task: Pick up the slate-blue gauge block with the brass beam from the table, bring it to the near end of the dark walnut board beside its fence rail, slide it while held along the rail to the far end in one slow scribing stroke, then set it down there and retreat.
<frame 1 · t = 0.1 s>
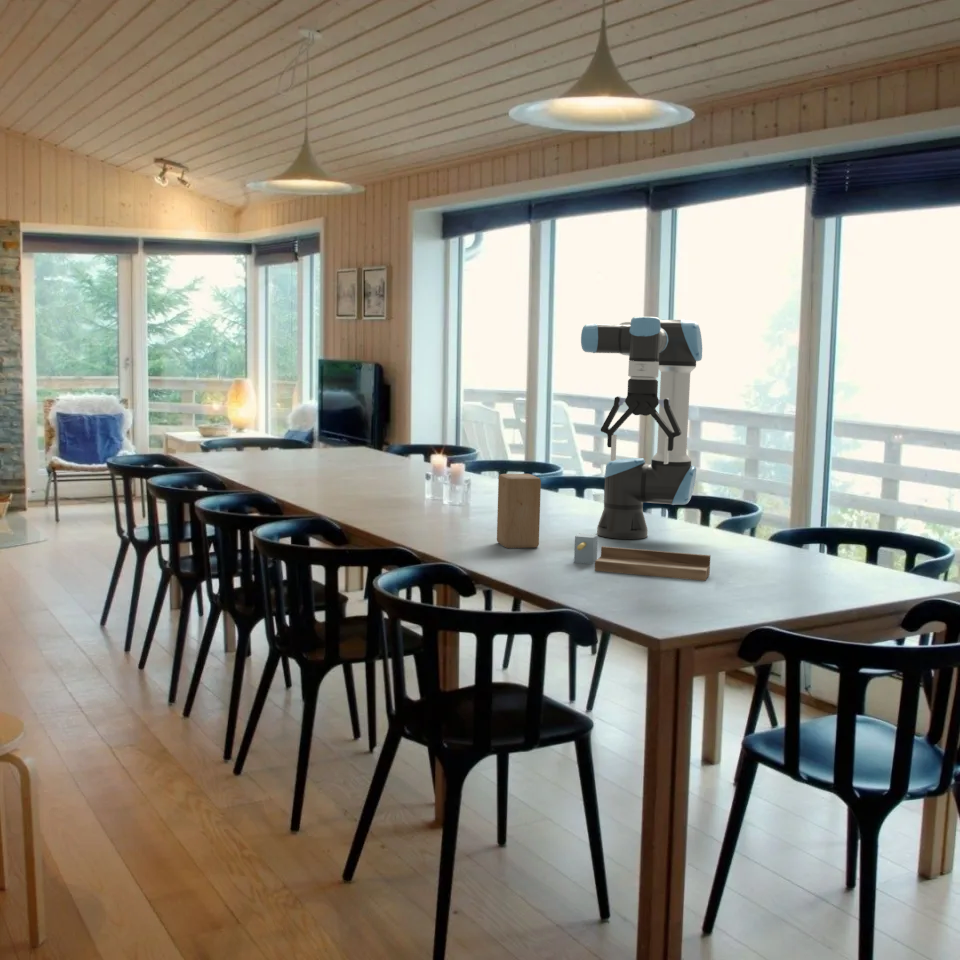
hand: (639, 462, 291), 28 cm above the table, fingers open, 13 cm apart
wooden block: (517, 546, 324), on the table
gauge: (585, 561, 304), on the table
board: (652, 572, 291), on the table
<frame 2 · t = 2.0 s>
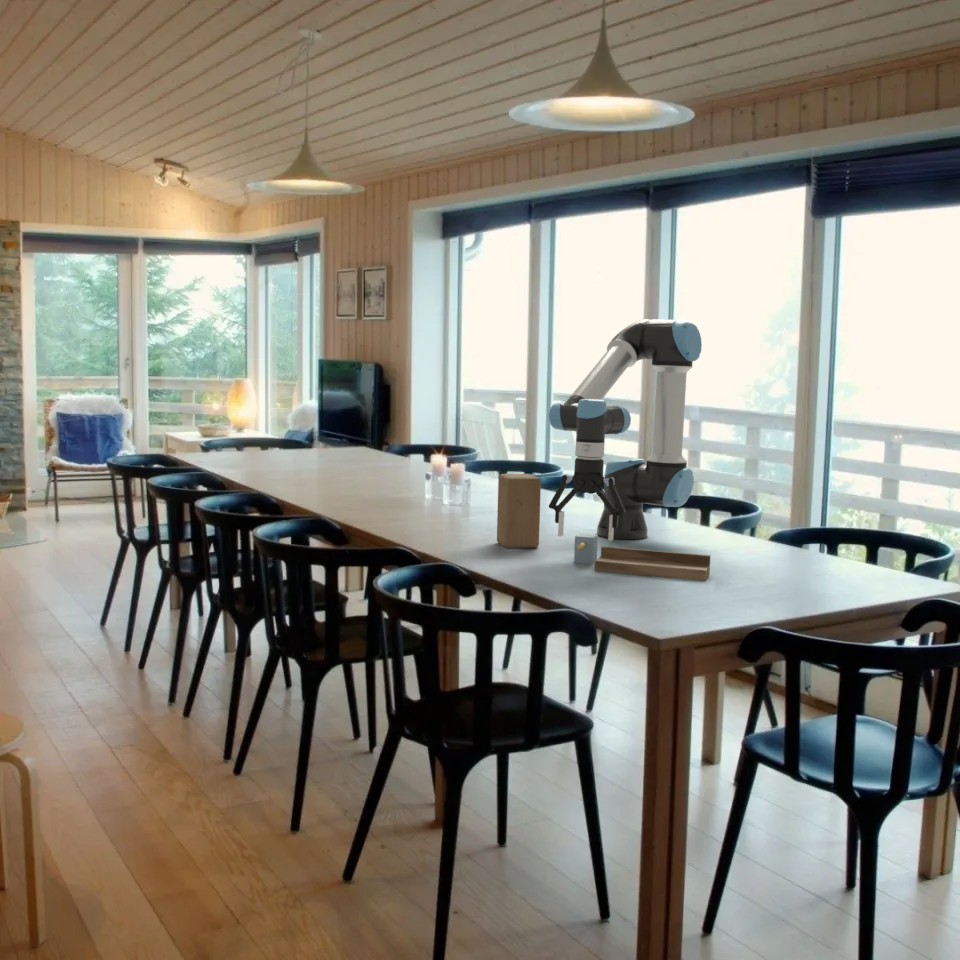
hand: (585, 537, 302), 6 cm above the table, fingers open, 13 cm apart
nothing on the table moved.
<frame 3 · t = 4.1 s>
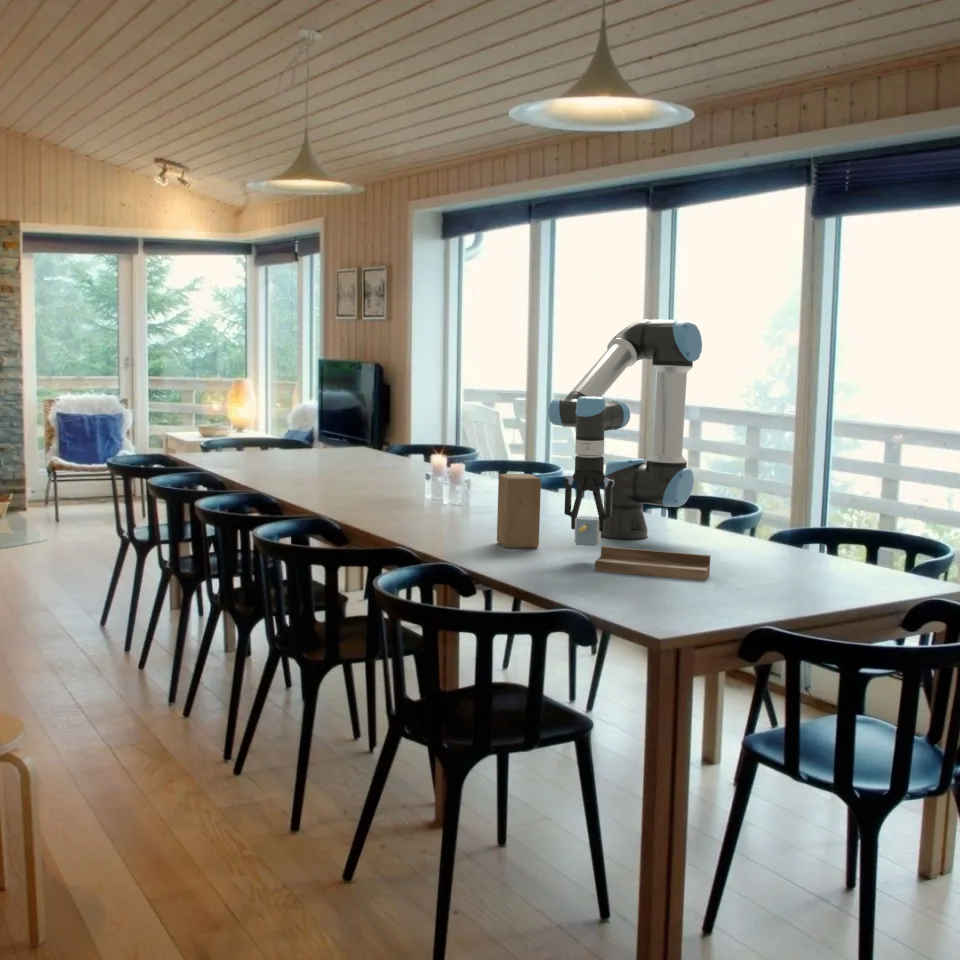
hand: (587, 542, 304), 5 cm above the table, fingers closed on gauge, 5 cm apart
gauge: (587, 543, 303), point 5 cm above the table, touching gripper
everything else where it was.
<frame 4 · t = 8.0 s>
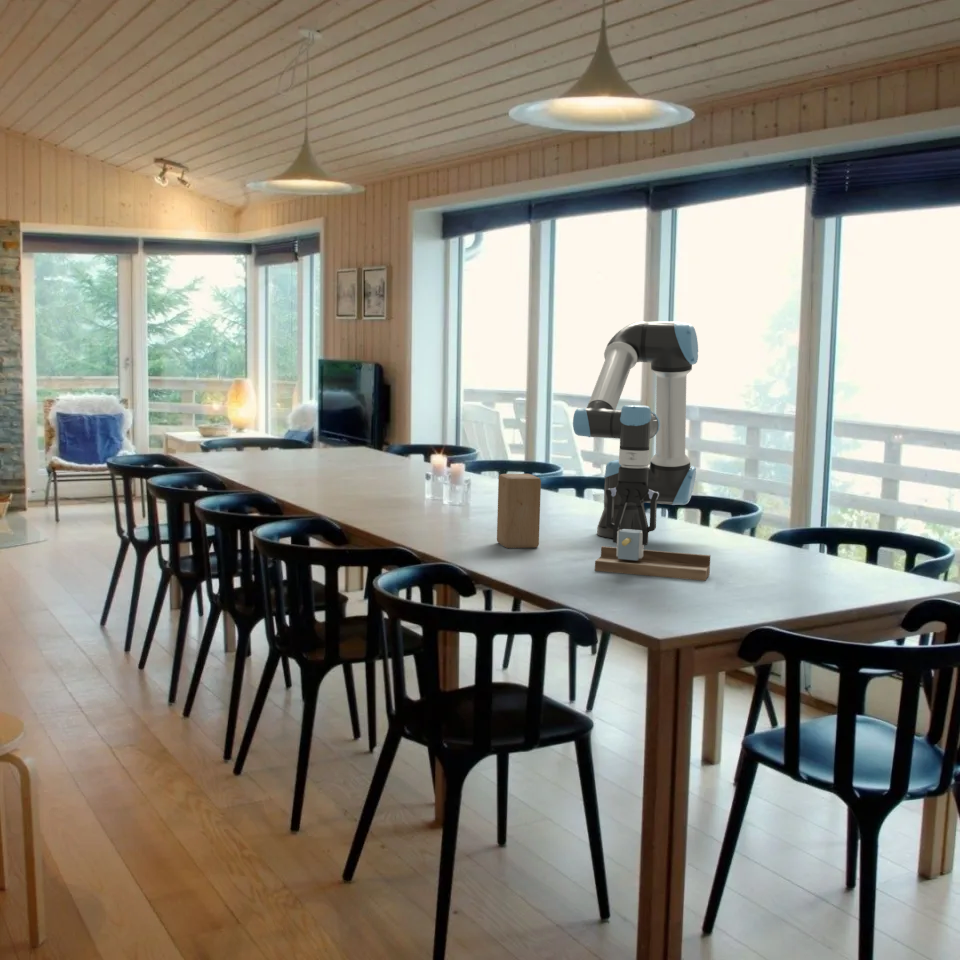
hand: (629, 556, 292), 4 cm above the table, fingers closed on gauge, 5 cm apart
gauge: (629, 557, 292), point 3 cm above the table, touching gripper
everything else where it was.
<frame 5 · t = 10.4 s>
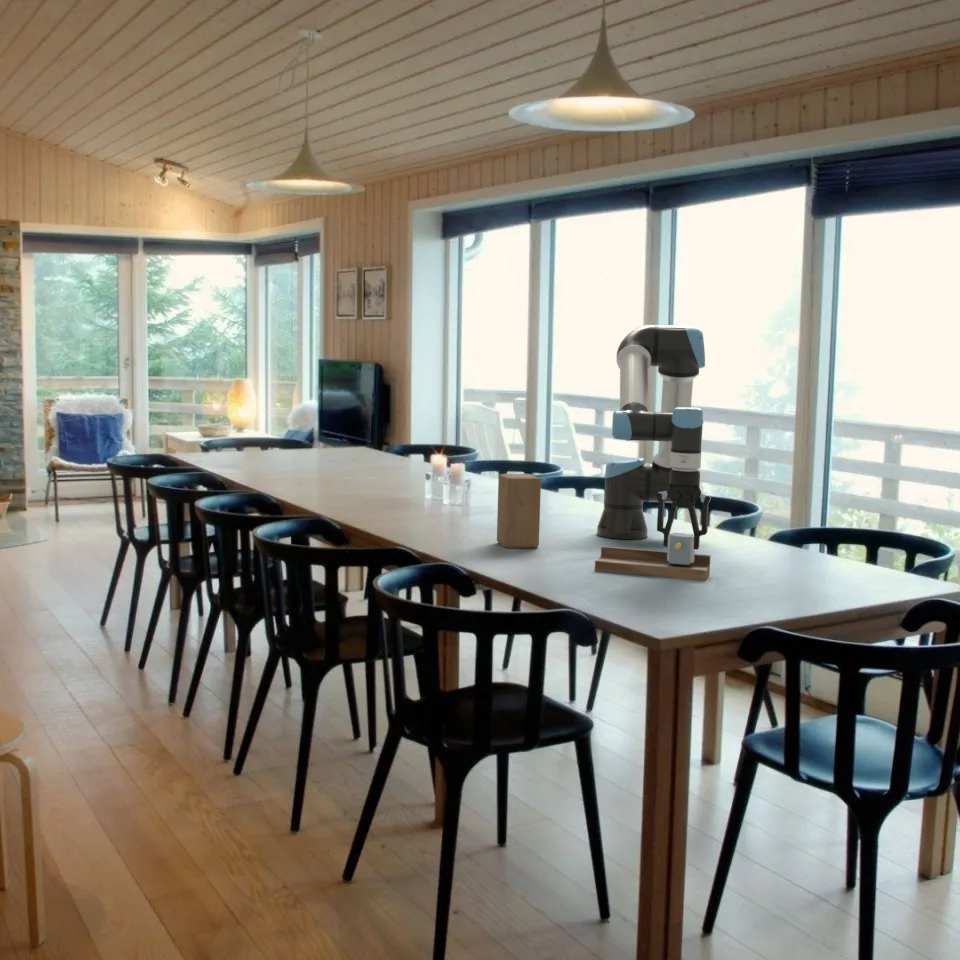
hand: (680, 560, 288), 4 cm above the table, fingers closed on gauge, 5 cm apart
gauge: (680, 562, 288), point 3 cm above the table, touching gripper
everything else where it was.
when the fingers open (4 cm above the table, at t = 12.1 s): gauge stays where it is, resting on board.
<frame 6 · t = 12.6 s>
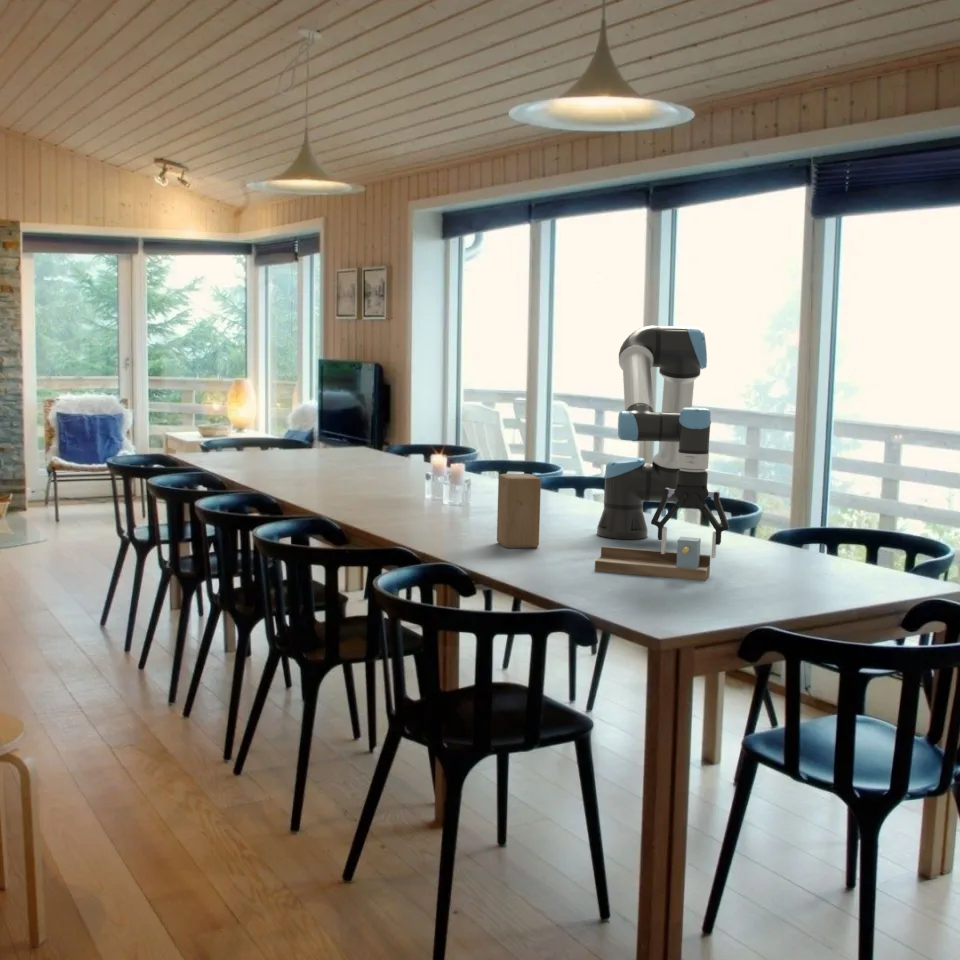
hand: (688, 555, 288), 5 cm above the table, fingers open, 12 cm apart
gauge: (687, 566, 288), point 2 cm above the table, touching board
everything else where it was.
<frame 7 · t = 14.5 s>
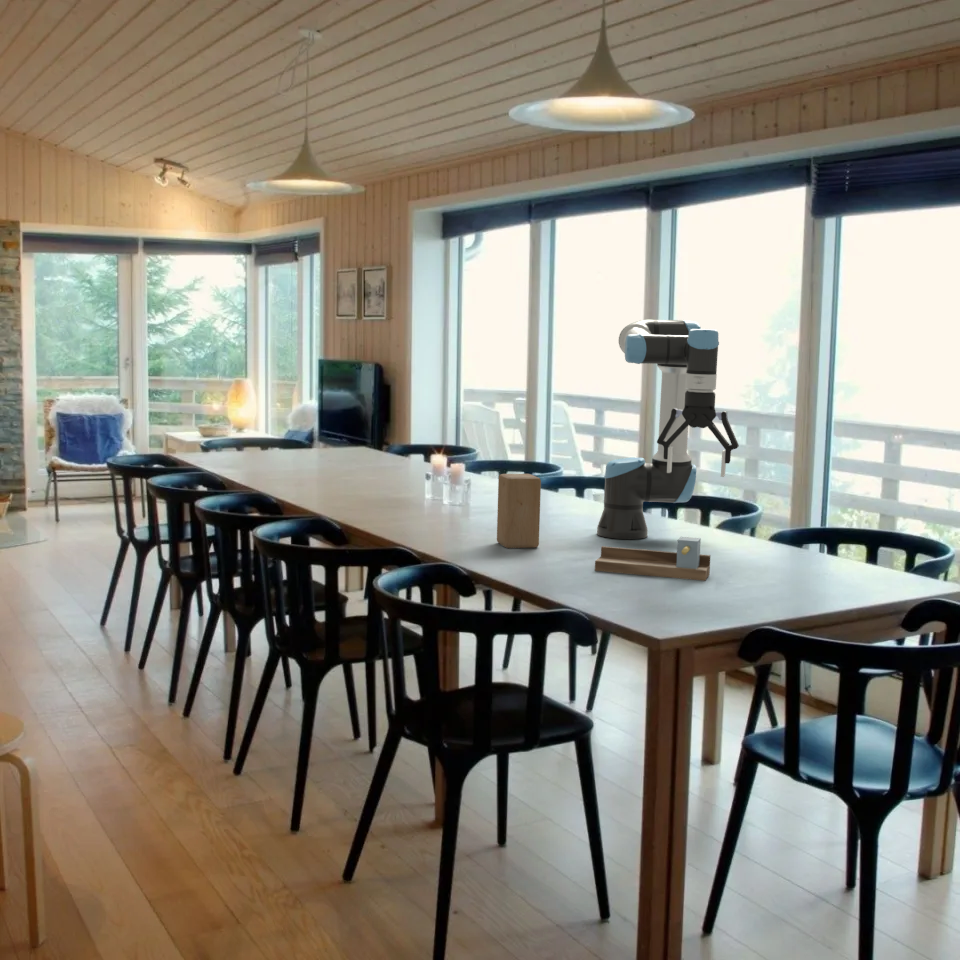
hand: (695, 474, 291), 25 cm above the table, fingers open, 13 cm apart
nothing on the table moved.
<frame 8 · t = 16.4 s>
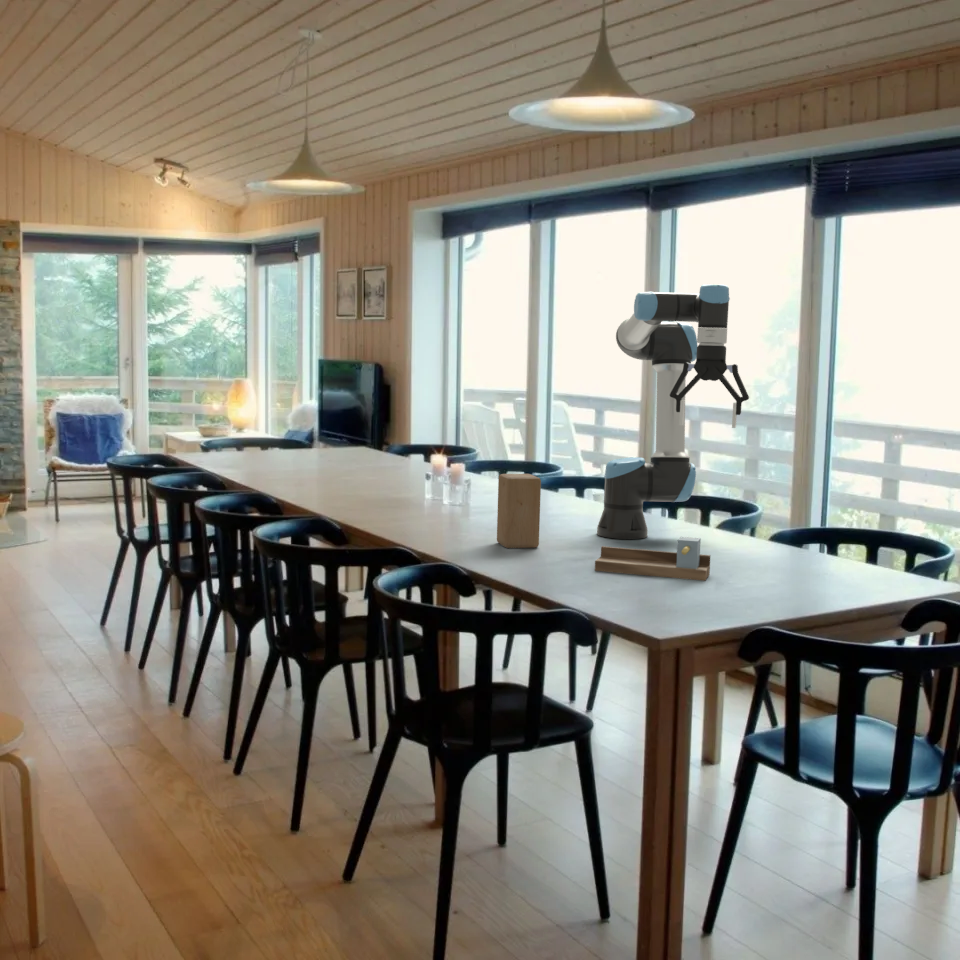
hand: (707, 426, 299), 37 cm above the table, fingers open, 13 cm apart
nothing on the table moved.
at the end: gauge inside the target area on the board (0.4 cm from its centre), point 2.5 cm above the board's base; gauge tilted 0°; the gripper is holding nothing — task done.
